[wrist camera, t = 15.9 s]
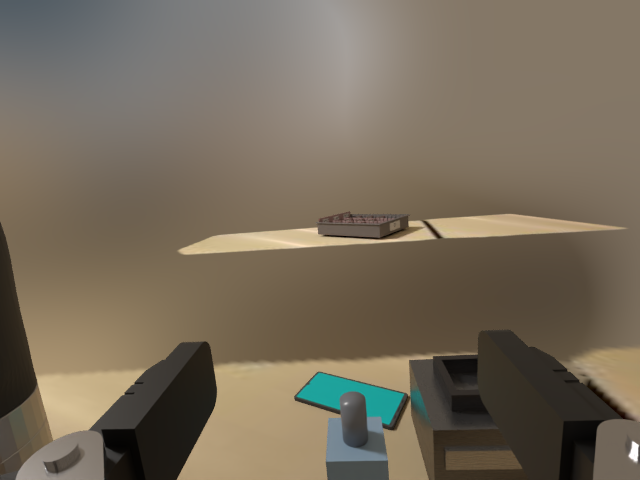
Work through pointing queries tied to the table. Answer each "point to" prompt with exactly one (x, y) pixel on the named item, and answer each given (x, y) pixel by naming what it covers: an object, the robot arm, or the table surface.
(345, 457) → the plug
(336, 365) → the table surface
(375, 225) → the organizer tray
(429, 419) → the box with square opening
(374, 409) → the smartphone
